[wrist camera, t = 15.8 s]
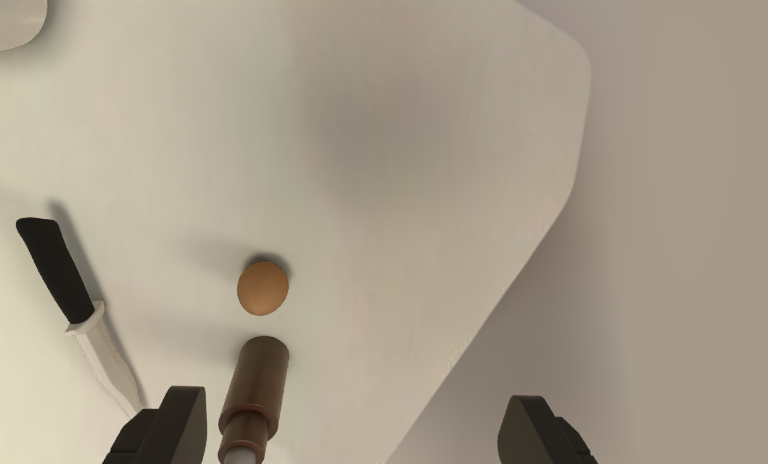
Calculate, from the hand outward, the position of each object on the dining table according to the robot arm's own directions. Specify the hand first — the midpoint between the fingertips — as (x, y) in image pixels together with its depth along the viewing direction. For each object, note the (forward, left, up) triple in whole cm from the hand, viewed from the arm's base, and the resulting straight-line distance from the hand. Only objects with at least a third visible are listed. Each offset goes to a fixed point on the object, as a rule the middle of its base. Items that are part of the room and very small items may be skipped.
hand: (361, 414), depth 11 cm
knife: (+28, -2, -28) cm, 40 cm away
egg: (+13, +4, -28) cm, 31 cm away
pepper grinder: (+20, +11, -28) cm, 36 cm away
